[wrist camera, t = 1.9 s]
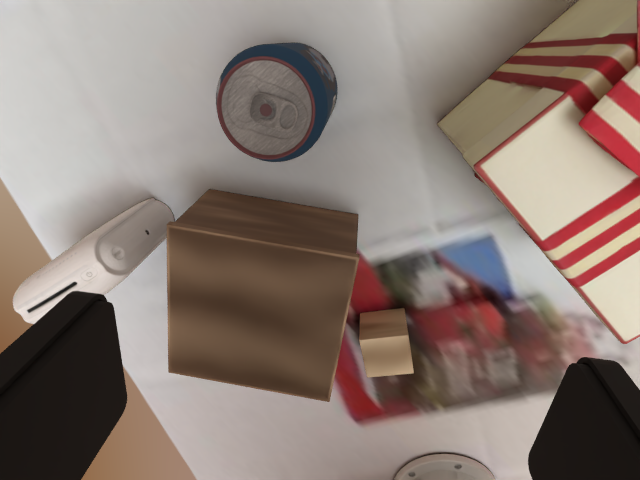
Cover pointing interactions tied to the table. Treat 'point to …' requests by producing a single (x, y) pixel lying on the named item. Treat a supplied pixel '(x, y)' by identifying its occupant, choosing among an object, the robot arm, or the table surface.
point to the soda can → (276, 100)
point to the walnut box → (260, 292)
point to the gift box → (569, 151)
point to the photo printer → (96, 259)
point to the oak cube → (385, 343)
